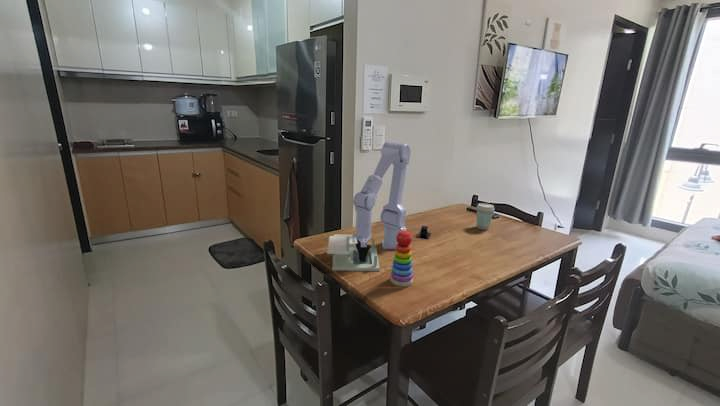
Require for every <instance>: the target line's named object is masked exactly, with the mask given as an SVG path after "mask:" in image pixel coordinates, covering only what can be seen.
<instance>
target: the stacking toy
mask: <svg viewBox="0 0 720 406" xmlns="http://www.w3.org/2000/svg"><path fill="white" fill-rule="evenodd" d="M396 239H397V242H398V244H397V245H396V249H395V252H394V256H393V261H392V266H391V273H390V277H389V281H390V283H391V284H392V285H394V286H397V287H401V288H403V287H409V286H411V285H412V284H413V283H414V272H413V262H412V261H413V257H412V255H413V253H412V246H411V243H412V241H413V236H412V234H411V232H409V231H408V230H406V231H400V232H399V233H398V234H397V237H396Z"/></svg>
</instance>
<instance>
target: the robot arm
mask: <svg viewBox="0 0 720 406" xmlns="http://www.w3.org/2000/svg"><path fill="white" fill-rule="evenodd" d="M411 151H412V149H411V147H410V146H409V144H408V143H404V142H403V143H402V142H396V141H395V142H393V141H389V140H388V141H384V143H383V145H382V147H381V150H380V153H381V154H380V155H381V156H380V159H379V161H378V163H377V166H376V168H375V170H374V172H373V174H370V175H369V176H368V177H367V179H366V180H365V183H364V184H363V187H362V188H361V190H360V191H358V192H357V193H355V195H354V197H353V200H352V202H353V206H354V211H355V212H356V213H355V216H356V217H355V233H352V235H353V237H356V239H357V243H356V248H357V250H358V253H359V260H360V262H365V261H366V258H367V254H368V251H369V249H370V248H372V244H368V242H369V241H370V239H371V238H372V215H373V212H372V211H373V210H372V209H373V208H374V207H375V206H376V203H377V198H378V195H377V194H378V193H379V191H380V188H381V187H382V185H383V177H384V176H385V174H387V171H388V169H389V168H390V166H391V165H393V170H392V177H391V184H390V190H389V198H388V203H386V204H385V205H383V207H382V211H381V213H380V218H379V219H380V222H381V223H382V226H383V240H381V246H382V249H384V250H397V249H396V245H397V244H398V242H397V239H396V237H397V234H398V233H399V232H400V231H407V228H406V227H407V226H405V225H406V222H407V210H406V208H405V207H404V206H403V205H402V201H403V193H404V187H405V186H404V185H405V179H406V173H407V166H408V165H409V164H410V158H411Z"/></svg>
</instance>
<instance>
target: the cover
mask: <svg viewBox="0 0 720 406" xmlns="http://www.w3.org/2000/svg"><path fill="white" fill-rule="evenodd" d="M349 241H350V236H334V235H329V238H328V244H327V249H326V254H329V255H330V254H331V255H333V254H349Z"/></svg>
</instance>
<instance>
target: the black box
mask: <svg viewBox="0 0 720 406" xmlns="http://www.w3.org/2000/svg"><path fill="white" fill-rule="evenodd" d="M431 235H432V232H429V226H427V225H422V226H421V227H420V231H419V233H418V234H417V236H416V238H418V239H421V240H429V239H430V237H431Z"/></svg>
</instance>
